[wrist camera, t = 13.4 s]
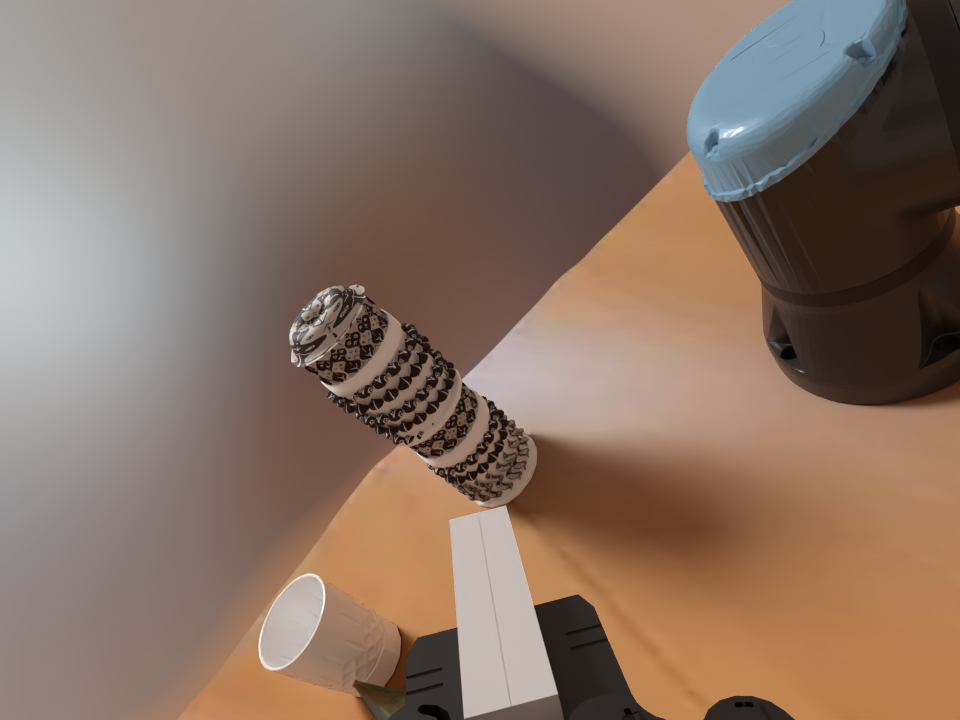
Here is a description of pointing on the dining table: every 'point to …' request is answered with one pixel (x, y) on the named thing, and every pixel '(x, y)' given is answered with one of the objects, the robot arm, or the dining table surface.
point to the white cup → (328, 637)
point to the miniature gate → (381, 698)
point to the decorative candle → (411, 395)
